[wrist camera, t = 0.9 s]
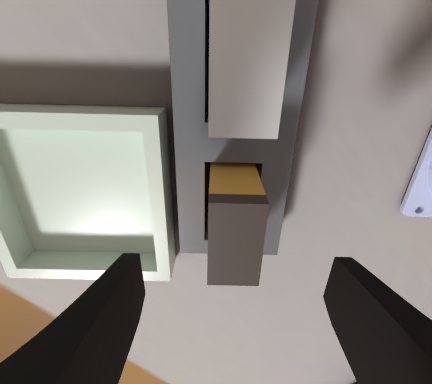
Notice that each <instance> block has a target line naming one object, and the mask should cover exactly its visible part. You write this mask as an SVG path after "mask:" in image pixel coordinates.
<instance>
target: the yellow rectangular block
mask: <svg viewBox="0 0 432 384" xmlns="http://www.w3.org/2000/svg"><path fill="white" fill-rule="evenodd" d="M268 211H269V202H268V199H267V196H266V193H265V191H264V188H263V185H262V182H261V179H260V177H259V174H258V171H257V168H256V165H255V163H229V162H211V166H210V182H209V198H208V272H207V285H238V286H259V279H260V271H261V264H262V256H263V249H264V241H265V234H266V226H267V219H268Z"/></svg>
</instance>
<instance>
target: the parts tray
mask: <svg viewBox="0 0 432 384" xmlns="http://www.w3.org/2000/svg"><path fill="white" fill-rule="evenodd" d="M123 253H140V259H141V266H142V273H143V280H144V281H171V277H172V272H173V267H174V263H175V258H176V255H175V239H174V223H173V206H172V190H171V174H170V158H169V142H168V126H167V110H166V107H133V106H91V105H50V104H8V103H0V261H1V263H2V265H3V267H4V269H5V272H6V274H7V276H8V278H49V279H95V280H97V279H98V278H99V277H100V276H101V275H102V274H103V273H104V272H105V271H106V270H107V269H108V268H109V267H110V266H111V265H112V264H113V262H114V261H115V260H116V259H117V258H118V257H119V256H120V255H121V254H123Z"/></svg>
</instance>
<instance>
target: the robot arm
mask: <svg viewBox="0 0 432 384" xmlns="http://www.w3.org/2000/svg"><path fill="white" fill-rule="evenodd" d="M418 207H419V208H418ZM416 208H418V209H417V210H416ZM400 212H401V213H403V214H404V215H405V216H415V217H432V128H431V131H430V133H429V136H428V138H427V141H426V143H425V146H424V148H423V151H422V153H421V156H420V158H419V161H418V163H417V166H416V168H415V171H414V174H413V176H412V179H411V181H410V184H409V186H408V189H407V191H406V194H405V196H404V199H403V201H402V204H401V206H400ZM144 297H145V287H144V280H143V273H142V266H141V259H140V253H123V254H121V255H120V256H119V257H118V258H117V259H116V260H115V261H114V262H113V264H112V265H111V266H110V267H109V268H108V269H107V270H106V271H105V272H104V273H103V274H102V275H101V276H100V277H99V278H98V279H97V280H96V281H95V282H94V283H93V284H92V285H91V286H90V287H89V288H88V289H87V290H86V291H85V292H84V293H83V294H82V295H81V296H80V297H79V298H77V299H76V300H75V301H74V302H73V303H72V304H71V305H70V306H69V307H68V308H67V309H65V310H64V311H63V312H62V313H61V314H60V315H59V316H58V317H57V318H55V319H54V320H53V321H52V322H51V323H50V324H49V325H48V326H46V327H45V328H44V329H43V330H42V331H40V332H39V333H38V334H37V335H36V336H34V337H33V338H32V339H31V340H29V341H28V342H27V343H26V344H24V345H23V346H22V347H21V348H19V349H18V350H17V351H16V352H14V353H13V354H12V355H10V356H9V357H8V358H6V359H5V360H4V361H2V362H1V363H0V384H118V383H119V379H120V377H121V374H122V371H123V368H124V365H125V362H126V359H127V356H128V353H129V350H130V347H131V344H132V341H133V338H134V335H135V332H136V329H137V326H138V323H139V320H140V316H141V311H142V307H143V302H144ZM323 297H324V301H325V304H326V308H327V311H328V314H329V317H330V321H331V324H332V326H333V328H334V331H335V333H336V335H337V338H338V340H339V342H340V344H341V347H342V349H343V351H344V353H345V356H346V358H347V360H348V362H349V365H350V367H351V369H352V371H353V374H354V376H355V378H356V380H357V383H358V384H432V320H431V319H429V318H428V317H427V316H425V315H424V314H423V313H421V312H420V311H419V310H417V309H416V308H415V307H413V306H412V305H411V304H410V303H408V302H407V301H406V300H404V299H403V298H402V297H401V296H399V295H398V294H397V293H396V292H394V291H393V290H392V289H391V288H389V287H388V286H387V285H386V284H384V283H383V282H382V281H381V280H379V279H378V278H377V277H376V276H374V275H373V274H372V273H371V272H370V271H368V270H367V269H366V268H365V267H363V266H362V265H361V264H360V263H358V262H357V261H356V260H354V259H353V258H352V257H335V258H334V261H333V265H332V268H331V272H330V275H329V278H328V282H327V285H326V289H325V292H324V295H323Z"/></svg>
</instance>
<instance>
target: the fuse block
mask: <svg viewBox="0 0 432 384" xmlns="http://www.w3.org/2000/svg"><path fill="white" fill-rule="evenodd" d="M318 3H319V0H296V3H295V10H294V18H293V25H292V33H291V41H290V48H289V56H288V64H287V71H286V79H285V86H284V94H283V102H282V109H281V117H280V124H279V132H278V139H252V138H210V137H208V116H209V114H206V100H207V4H210V0H167V10H168V29H169V49H170V68H171V88H172V107H173V126H174V146H175V165H176V184H177V204H178V223H179V242H180V253H208V220H206V162H229V163H256V168H257V171H258V174H259V177H260V179H261V182H262V185H263V188H264V191H265V193H266V196H267V199H268V202H269V211H268V219H267V226H266V234H265V241H264V249H263V255H277V252H278V246H279V240H280V234H281V228H282V222H283V215H284V209H285V203H286V197H287V191H288V185H289V179H290V173H291V167H292V161H293V155H294V149H295V142H296V136H297V130H298V124H299V118H300V112H301V106H302V100H303V94H304V88H305V82H306V76H307V69H308V63H309V57H310V51H311V45H312V39H313V33H314V27H315V21H316V15H317V9H318Z"/></svg>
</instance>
